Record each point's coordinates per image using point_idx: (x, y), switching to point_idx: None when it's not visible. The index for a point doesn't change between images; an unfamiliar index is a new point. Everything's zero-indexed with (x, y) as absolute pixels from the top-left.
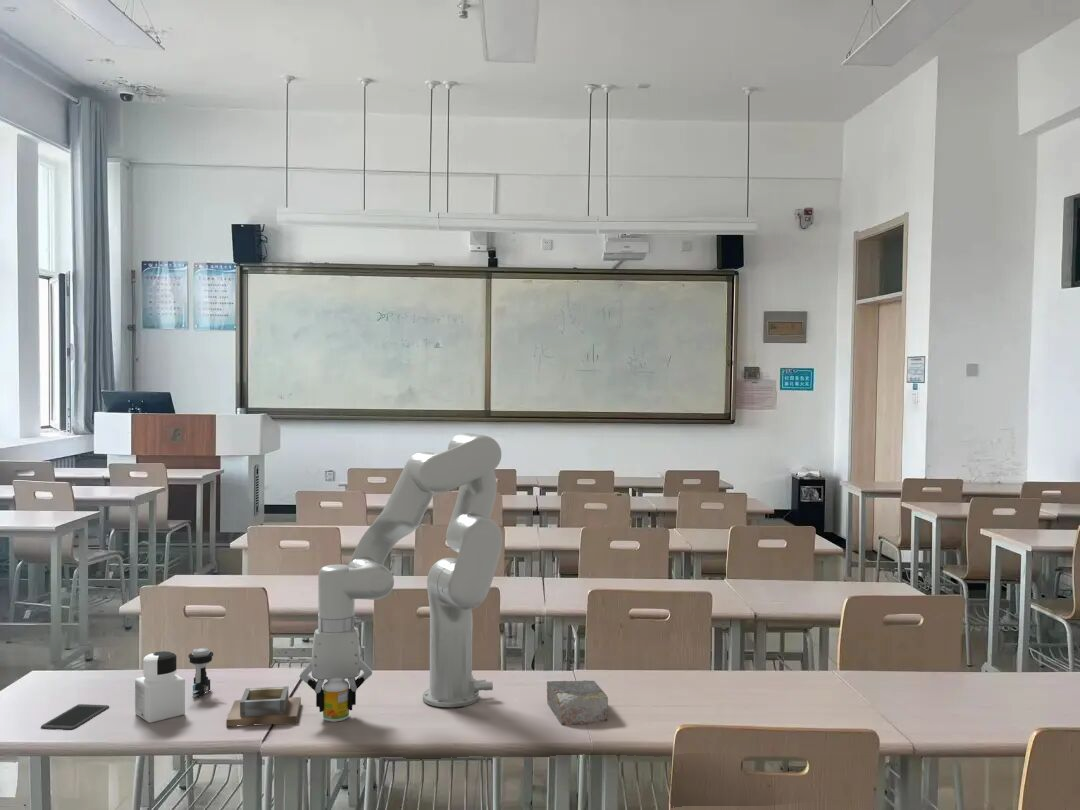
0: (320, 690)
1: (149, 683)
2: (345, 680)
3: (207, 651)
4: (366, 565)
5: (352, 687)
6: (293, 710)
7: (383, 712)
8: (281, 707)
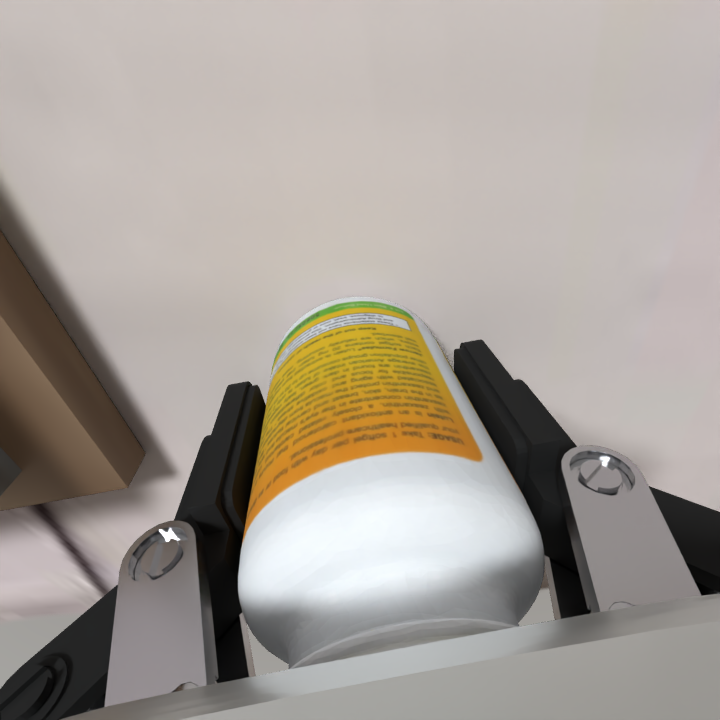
0: (244, 620)
1: None
2: (521, 559)
3: None
4: None
5: (565, 568)
6: (34, 410)
7: (664, 265)
8: None
